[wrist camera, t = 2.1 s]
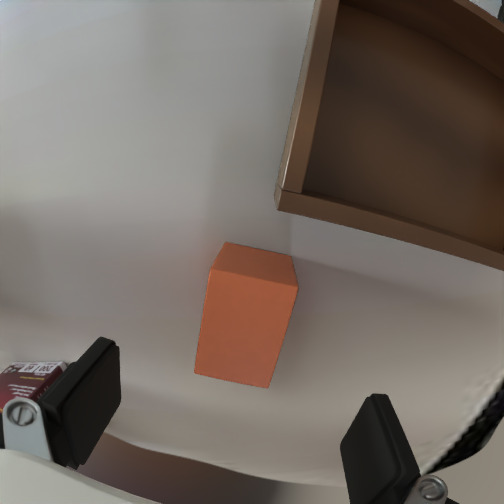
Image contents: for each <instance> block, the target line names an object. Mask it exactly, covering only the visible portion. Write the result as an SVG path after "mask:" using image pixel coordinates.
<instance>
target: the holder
mask: <svg viewBox="0 0 504 504" xmlns="http://www.w3.org/2000/svg"><path fill="white" fill-rule="evenodd" d="M498 20H499V21H501V22H502V23H503V24H504V0H502V6H501V7H500V10H499V14H498Z"/></svg>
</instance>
